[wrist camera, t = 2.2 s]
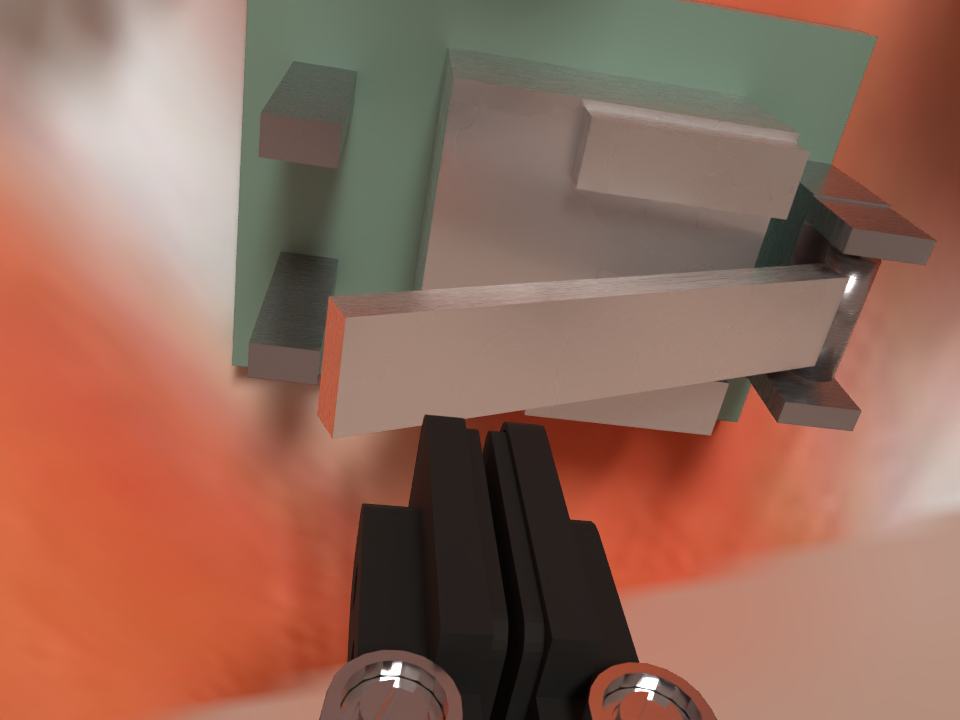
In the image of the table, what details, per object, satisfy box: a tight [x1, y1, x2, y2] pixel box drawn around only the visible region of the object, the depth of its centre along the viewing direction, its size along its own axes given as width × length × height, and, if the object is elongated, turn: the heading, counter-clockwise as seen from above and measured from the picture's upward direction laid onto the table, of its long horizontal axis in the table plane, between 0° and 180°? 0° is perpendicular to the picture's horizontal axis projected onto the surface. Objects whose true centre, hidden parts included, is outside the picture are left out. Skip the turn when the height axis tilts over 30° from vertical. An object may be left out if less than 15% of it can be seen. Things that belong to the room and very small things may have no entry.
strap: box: [317, 244, 881, 439], centre depth 19 cm, size 14×3×1 cm, turn 82°
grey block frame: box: [247, 47, 936, 436], centre depth 22 cm, size 15×8×6 cm, turn 81°
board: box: [232, 0, 878, 422], centre depth 25 cm, size 16×12×1 cm
